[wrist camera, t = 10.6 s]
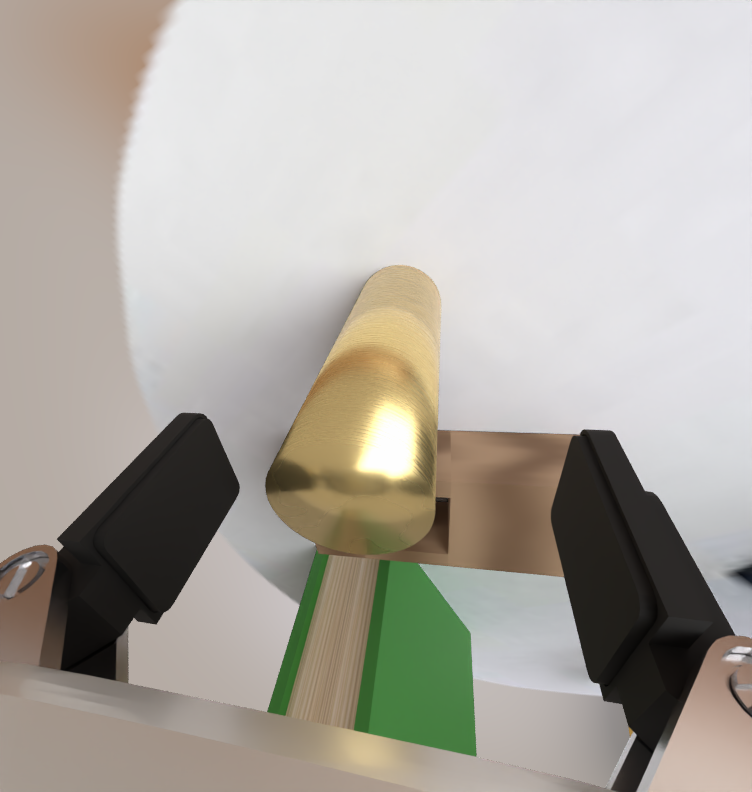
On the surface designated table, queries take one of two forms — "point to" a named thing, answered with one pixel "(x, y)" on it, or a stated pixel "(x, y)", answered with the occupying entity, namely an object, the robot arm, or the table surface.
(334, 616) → the hardback book
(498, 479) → the eye block
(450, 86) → the table surface
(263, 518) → the table surface
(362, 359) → the peg
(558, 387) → the table surface
